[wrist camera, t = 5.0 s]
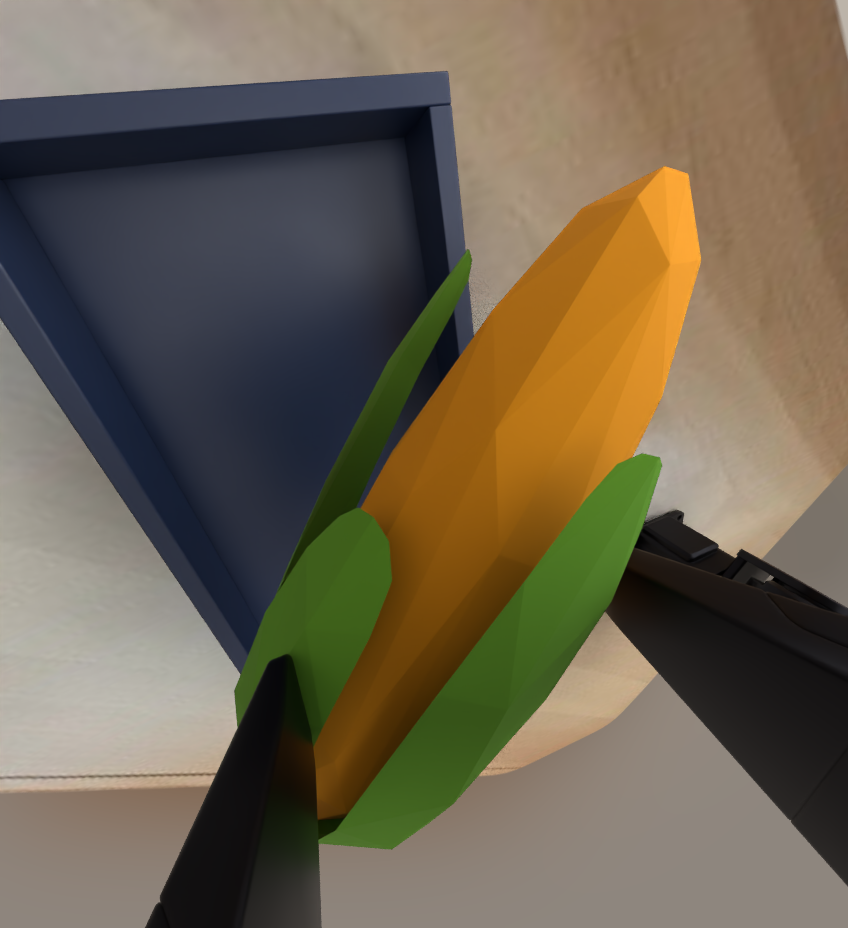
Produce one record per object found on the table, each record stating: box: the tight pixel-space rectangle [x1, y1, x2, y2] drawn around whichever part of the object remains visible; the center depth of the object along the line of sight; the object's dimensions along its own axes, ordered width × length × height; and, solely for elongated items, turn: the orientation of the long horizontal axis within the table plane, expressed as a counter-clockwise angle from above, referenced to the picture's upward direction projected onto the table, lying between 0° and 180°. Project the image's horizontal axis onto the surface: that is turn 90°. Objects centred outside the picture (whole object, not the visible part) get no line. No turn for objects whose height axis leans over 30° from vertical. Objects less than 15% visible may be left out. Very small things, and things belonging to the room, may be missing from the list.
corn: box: [234, 166, 701, 849], centre depth 10 cm, size 7×8×20 cm
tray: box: [0, 71, 474, 674], centre depth 17 cm, size 26×15×3 cm, turn 10°
